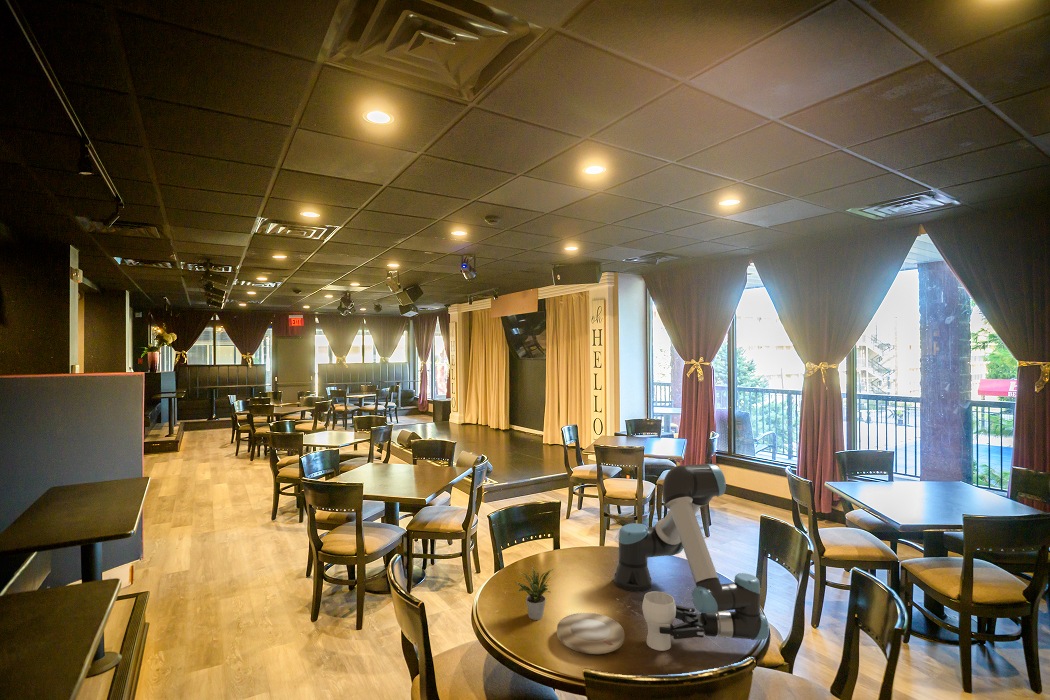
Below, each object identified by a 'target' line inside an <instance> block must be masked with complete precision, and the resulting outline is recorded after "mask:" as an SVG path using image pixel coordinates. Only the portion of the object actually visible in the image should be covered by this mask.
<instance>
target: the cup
mask: <svg viewBox="0 0 1050 700" xmlns="http://www.w3.org/2000/svg"><path fill="white" fill-rule="evenodd" d="M643 596H644V597H643V601H642V606H641V607H642V613H643V617H644V621H645V622H646V625H647V626H648V623H658V624H669V625H670V624H672V625H673V624H674V622H675V619H676V618H675V616H676V602H675V599H674V597H673V596H672V594H671V595H670V594H669V593H667V592H663V591H658V590H657V591H648V592H646V593H645V594H644V595H643ZM646 645H647V646H648V647H649V648H650V649H653V650H655V651H663V652H664V651H668V650H670V649H671V648H672V641H671V635H670V634H660V633H649V632H648V631H647V637H646Z"/></svg>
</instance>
